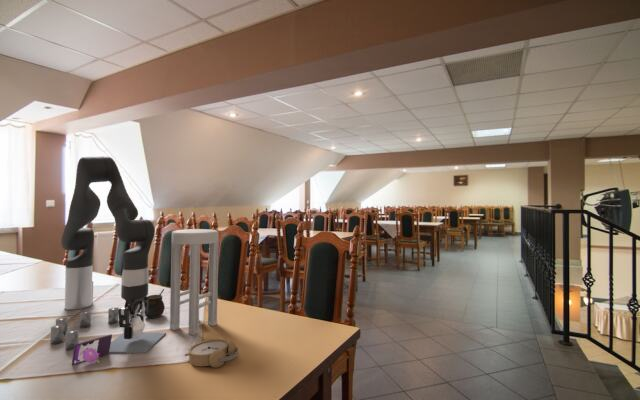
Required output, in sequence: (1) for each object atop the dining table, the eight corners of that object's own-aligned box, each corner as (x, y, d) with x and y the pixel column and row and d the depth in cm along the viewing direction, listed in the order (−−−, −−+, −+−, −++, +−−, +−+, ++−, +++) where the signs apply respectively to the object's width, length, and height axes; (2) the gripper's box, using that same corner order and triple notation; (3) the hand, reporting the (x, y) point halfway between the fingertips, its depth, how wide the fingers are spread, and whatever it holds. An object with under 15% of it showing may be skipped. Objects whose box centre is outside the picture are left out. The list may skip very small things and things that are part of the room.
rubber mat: (124, 334, 110) (124, 332, 110) (165, 334, 111) (166, 332, 111) (97, 353, 96) (97, 351, 96) (145, 353, 97) (145, 351, 97)
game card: (110, 332, 95) (73, 342, 88) (117, 343, 92) (79, 354, 85) (107, 351, 97) (70, 363, 90) (113, 362, 94) (76, 375, 87)
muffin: (137, 342, 100) (138, 319, 100) (118, 341, 100) (119, 318, 101) (148, 333, 107) (149, 312, 107) (130, 333, 107) (131, 312, 107)
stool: (225, 323, 122) (226, 230, 122) (193, 338, 108) (195, 233, 108) (194, 316, 128) (196, 228, 128) (160, 330, 114) (162, 231, 114)
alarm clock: (206, 337, 102) (245, 337, 97) (208, 353, 102) (248, 354, 96) (179, 352, 92) (221, 353, 86) (181, 370, 91) (223, 372, 86)
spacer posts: (81, 320, 122) (82, 307, 122) (140, 320, 122) (140, 307, 122) (25, 350, 97) (25, 333, 97) (98, 350, 98) (98, 333, 98)
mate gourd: (139, 318, 125) (139, 292, 125) (155, 312, 132) (155, 287, 132) (153, 321, 122) (153, 294, 122) (168, 314, 130) (169, 289, 130)
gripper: (135, 276, 111) (134, 325, 111) (109, 287, 96) (108, 344, 96) (157, 276, 111) (156, 325, 111) (134, 288, 96) (133, 344, 96)
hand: (134, 333), depth 104 cm, fingers closed on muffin, 6 cm apart
